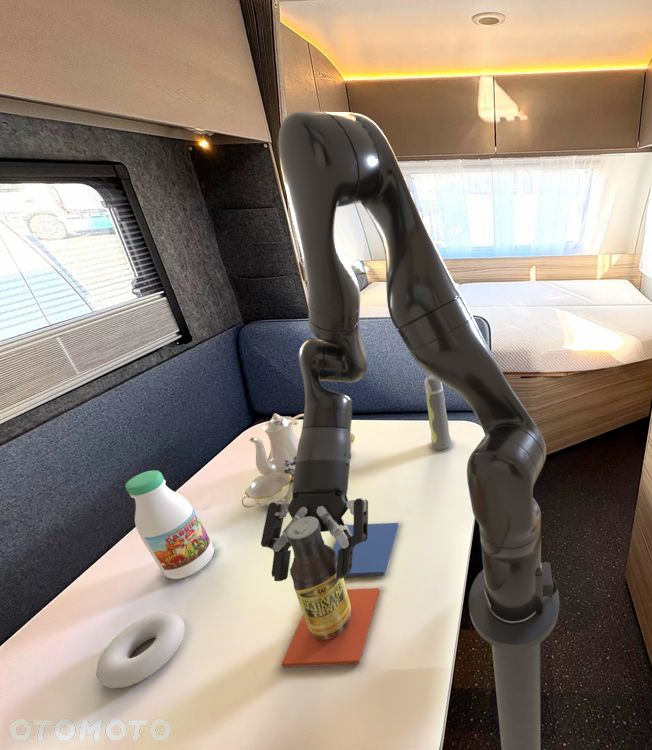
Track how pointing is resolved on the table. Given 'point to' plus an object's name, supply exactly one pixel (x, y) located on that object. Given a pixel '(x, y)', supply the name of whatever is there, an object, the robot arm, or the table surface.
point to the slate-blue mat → (372, 550)
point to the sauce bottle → (317, 580)
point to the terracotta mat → (343, 645)
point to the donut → (127, 671)
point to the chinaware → (276, 461)
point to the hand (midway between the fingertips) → (311, 579)
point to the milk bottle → (169, 526)
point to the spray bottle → (437, 413)
